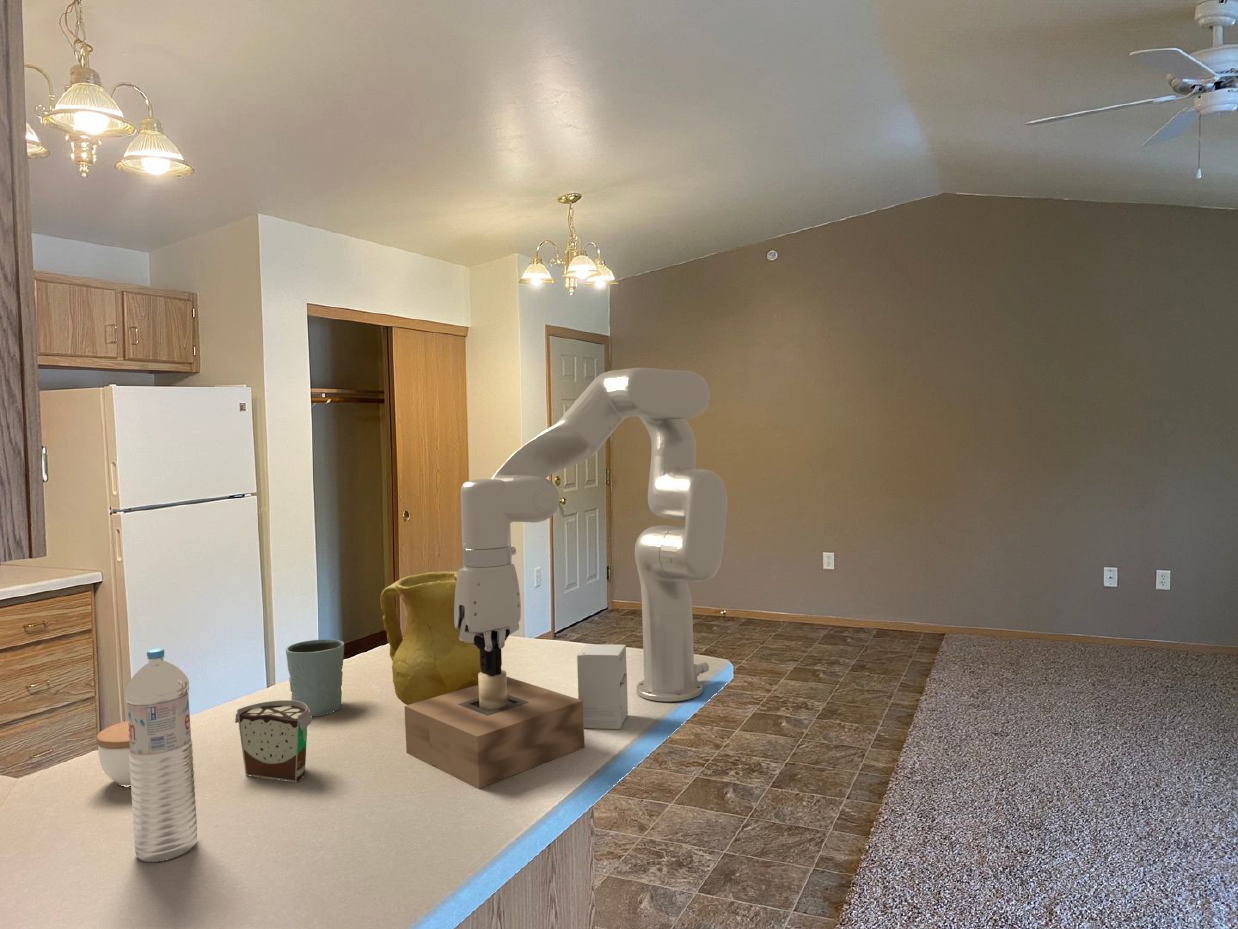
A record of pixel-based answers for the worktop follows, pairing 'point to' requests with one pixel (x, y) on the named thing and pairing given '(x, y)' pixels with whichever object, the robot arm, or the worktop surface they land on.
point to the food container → (274, 739)
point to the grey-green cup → (316, 674)
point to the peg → (492, 691)
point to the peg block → (494, 732)
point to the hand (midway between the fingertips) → (491, 673)
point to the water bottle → (161, 760)
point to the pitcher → (427, 639)
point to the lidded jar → (115, 752)
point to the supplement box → (603, 685)
